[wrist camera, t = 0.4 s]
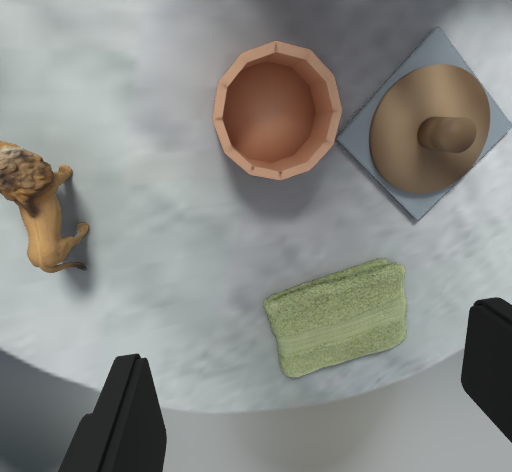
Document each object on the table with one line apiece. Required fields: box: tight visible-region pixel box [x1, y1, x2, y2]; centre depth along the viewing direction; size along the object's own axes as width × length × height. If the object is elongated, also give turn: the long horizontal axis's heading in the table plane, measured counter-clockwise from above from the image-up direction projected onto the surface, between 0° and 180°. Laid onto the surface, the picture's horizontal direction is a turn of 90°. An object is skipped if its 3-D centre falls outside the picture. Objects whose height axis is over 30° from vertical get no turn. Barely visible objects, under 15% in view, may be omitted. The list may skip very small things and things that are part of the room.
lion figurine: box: [0, 141, 89, 273], centre depth 32 cm, size 15×5×9 cm, turn 13°
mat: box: [335, 27, 512, 220], centre depth 37 cm, size 14×14×1 cm
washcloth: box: [264, 258, 407, 377], centre depth 44 cm, size 13×18×3 cm
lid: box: [369, 64, 490, 194], centre depth 35 cm, size 13×13×5 cm
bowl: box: [212, 41, 342, 180], centre depth 33 cm, size 11×11×6 cm
